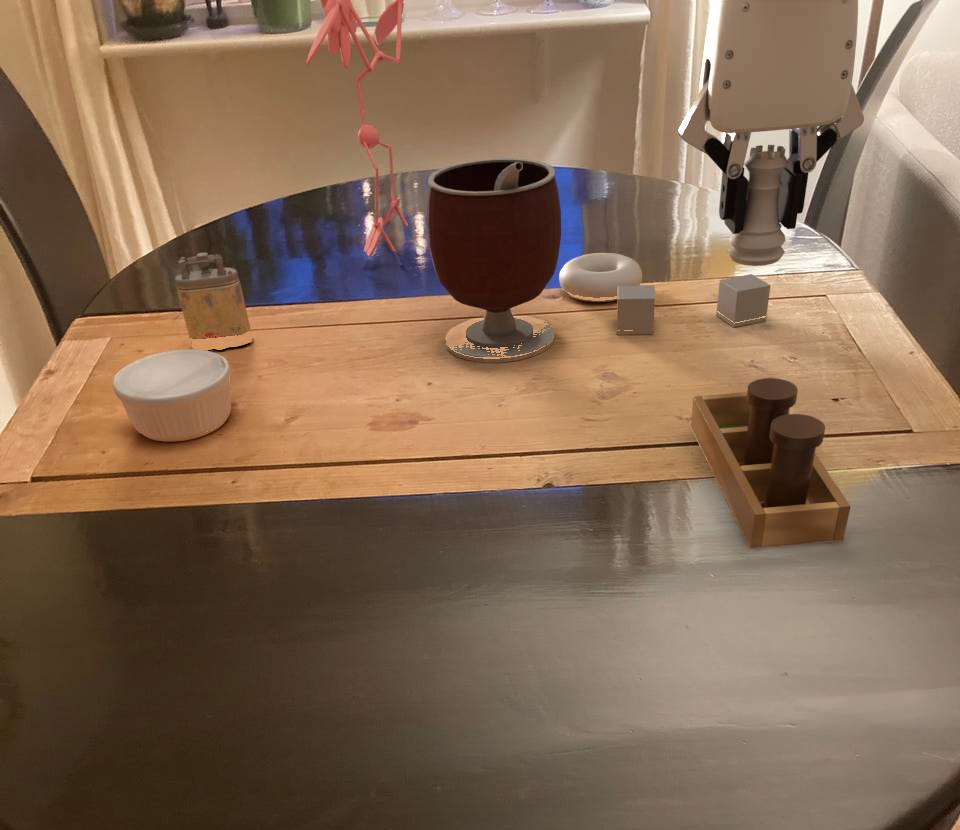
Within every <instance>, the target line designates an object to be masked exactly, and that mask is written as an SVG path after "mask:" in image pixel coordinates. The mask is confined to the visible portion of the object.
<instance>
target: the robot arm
mask: <svg viewBox="0 0 960 830" xmlns="http://www.w3.org/2000/svg"><path fill="white" fill-rule="evenodd" d="M858 23H859V0H711V5H710V10H709V15H708V22H707V27H706V34H705V40H704V47H703V55H702V62H701V69H700V79H699V84H698V95H697V96H696V98H695V100H694V102H693V104H692V105H691V107H690V109H689V110H688V112H687V113H686V116H685V117H684V120H683V121H682V123H681V125H680V126H679V127H678V136H679V137H680V139H682V140H683V141H684V142H685V143H687V144H688V145H690V146H692V147H693V148H694V149H697V150H699V151H700V152H702V153H704V154H705V155H707V156H708V157H709V158H710V160H712V162H713V163H714V164H715V165H716V166H717V167H718V169H720V170H721V172H722V173H721V184H720V195H719V204H718V205H719V206H718V212H719V213H718V215H719V216H718V217H719V219H720V220H722V221H724V222H723V223H724V225H725V226H726V227H727V229H728V230H729V231H730V232H731V234H732V233H733V234H737V233H740V232H741V231H743V227H744V217H745V208H746V199H747V190H748V179H749V178H747V177H746V176H745V167H744V166H745V164H744V162H745V161H746V158H747V153H748V148H749V144H750V141H751V140H750V139H751V136H752V133H760V132H771V131H773V132H774V131H784V130H785V131H786V130H789V133H788V135H789V136H788V139H789V142H788V143H789V144H788V145H789V146H788V147H789V148H788V156H789V157H788V158H787V160H788V162H789V163H788V165H787V166H786V167H785V168H784V170H783V171H782V173H781V182H782V183H783V185H782V186H781V187H780V190H779V197H778V216H779V223H780V224H781V225H782V227H783V228H786V230H794V229H795V228H796V226H797V219H798V214H802V213H803V211H804V207H805V201H806V194H807V188H808V187H807V186H808V181H809V180H808V179H809V174H810V173H811V172H813V171H814V169H815V168H816V166H817V162H818V161H820V160H821V159H822V158H823V156H825V154H827V153H828V151H829V150H830V149H831V148H832V147H834V145H835V144H836V143H837V141H839V140H842V139H843V138H845V137H846V136H848V135H850V134H851V133H852V132H854V131H855V130H857V129H858V128H859V127H861V126H862V125H863V124H864V121H865V115H864V113H863V110H862V108H861V105H860V104H861V103H860V101H859V99H858V97H857V94H856V91H855V89H854V85H853V79H854V69H855V60H856V51H857V50H856V49H857V41H858V40H857V39H858V38H857V37H858ZM707 122H710V125H711V127H712V128H713V129H714V130H716V131H718V132H720V133H723V134H722V139H721V140H719V139H718V137H717V136H715V135H714V134H712V133H710V132H708V131H707V130H706V124H707Z"/></svg>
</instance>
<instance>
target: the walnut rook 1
mask: <svg viewBox="0 0 960 830" xmlns="http://www.w3.org/2000/svg"><path fill="white" fill-rule="evenodd" d="M798 391H799V389H798V386H796V384H795V383H793V382H792V381H790V380H786V379H782V378H776V377H766V378H758V379H755V380H753V381H750V383H749V384H748V385H747V388H746V392H747V395H746V401H747V402H748V404H750V413H749V420H748V428H747V436H746V444H745V452H744V459H743V463H742V464H740V465H739V466H744V465H756V464H767V463H771V459H772V452H773V446H774V443H773V442H772V441H771V440H770V437H769V435H770V428H771V423H772V421H773V420H774V419H775V418H777V417H779V416H783V415H788V414H790V409H791V408H792V407H794V406H795V405H796V403H797V397H798Z"/></svg>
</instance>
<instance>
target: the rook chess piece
mask: <svg viewBox="0 0 960 830" xmlns="http://www.w3.org/2000/svg"><path fill="white" fill-rule="evenodd" d="M763 148H764V146H763V145H762V144H760V145H755V147H751V148H750V151H749V156H748V157H747V158H746V159H745V162H744V166H745V169H746V170H747V172H748V178H747V179H748V190H747V199H746V208H745V217H744V227H743V231H741V232H740V233H737V234H733V233H732V232H731V234H730V237H729V240H728V241H729V243H730V244H731V246H730V247H729V248H728V250H727V254H728V256H729V258H730V259H731V261H732V262H734V263H736V264H738V265H743V266H748V267H750V266H751V267H762V266H769V265H774V264H775V263H778V262H779V261H780V260H781V258H782V257H783V256H784V254H785V253H786V251H785V249H784V248H783V247H782V246H783V245H784V244H785V242H786V235H785V234H784V232H783V230H782V227H783V225H782V224H781V223H780V222H779V216H778V197H779V190H780V187H781V186H782V185H783V183H782V182H781V173H782V171H783V170H784V168H785V167H786V166H787V165H788V163H789V162H788V158H787V157H786V148H785V146H782V145H778V146H776V151H775V144H767V149H766V150H764V151H763Z"/></svg>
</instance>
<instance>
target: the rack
mask: <svg viewBox="0 0 960 830" xmlns="http://www.w3.org/2000/svg"><path fill="white" fill-rule="evenodd" d="M746 395H747V391H740V392H728V393H717V394H705V395H694V396H692V397H693V398H692V407H691V419H690V429H691V431H692V433H693V436H694V438H695V439H696V441H697V444H698V445H699V446H698V447H699V448H700V450H701V451H702V454H703V455H704V457H705V460H706V461H707V464H708V466H709V468H710V471H711V472H712V474H713V476H714V478H715V480H716V482H717V484H718V487H719V488H720V490H721V492H722V494H723V496H724V498H725V500H726V503H727V505H728V507H729V508H730V510H731V512H732V514H733V516H734V519H735V521H736V523H737V525H738V527H739V529H740V531H741V533H742V535H743V537H744V539H745V541H746V543H747V545H748V548H749V549H758V548H761V549H762V548H774V547H782V546H783V547H785V546H793V545H794V546H795V545H806V544H818V543H831V542H840V541H841V542H843V541H844V538H845V534H846V529H847V525H848V520H849V516H850V512H851V504H850V503H849V501H848V500H847V498H846V496H845V495H844V494H843V493H842V491H841V489H840V488H839V487H838V485H837V483H836V482H835V481H834V479H833V478H832V476H831V475H830V473H829V472H828V471H827V469H826V467H825V466H824V465H823V462H822V461H821V460H820V459H819V457H818V455H817V454H816V453H815V455H814V461H813V466H812V472H811V477H810V483H809V488H808V494H807V500H806V504H804V505H792V506H781V507H769V508H762V506H761V504H762V503H763V502H765V499H766V493H767V486H768V479H769V472H770V466H771V463H767V464H756V465H744V466H739V465H740V464H742V463H743V459H744V452H745V444H746V436H747V428H748V420H749V413H750V404H748V402H747V401H746Z"/></svg>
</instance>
